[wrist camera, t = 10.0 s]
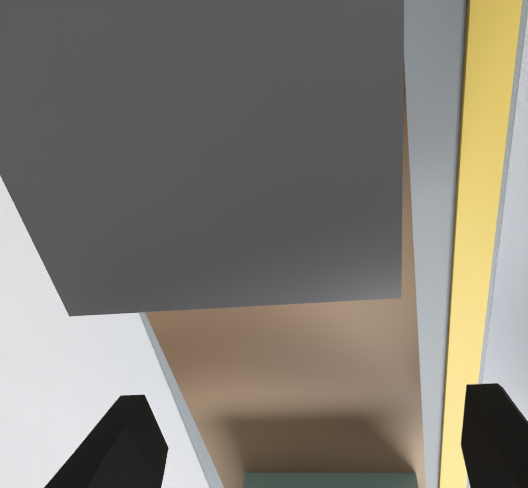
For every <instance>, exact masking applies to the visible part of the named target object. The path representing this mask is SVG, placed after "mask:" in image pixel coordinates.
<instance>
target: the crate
mask: <svg viewBox="0 0 528 488" xmlns="http://www.w3.org/2000/svg"><path fill="white" fill-rule="evenodd" d="M403 79H404V0H0V176H1V178H2V180H3V182H4V184H5V186H6V188H7V190H8V192H9V194H10V196H11V198H12V200H13V202H14V204H15V206H16V208H17V210H18V212H19V214H20V216H21V218H22V221H23V223H24V225H25V227H26V229H27V231H28V233H29V235H30V237H31V239H32V241H33V243H34V245H35V247H36V249H37V251H38V253H39V255H40V257H41V259H42V261H43V263H44V265H45V267H46V270H47V272H48V274H49V276H50V278H51V280H52V282H53V284H54V286H55V288H56V290H57V292H58V294H59V296H60V298H61V300H62V302H63V304H64V306H65V308H66V310H67V312H68V314H69V316H83V315H101V314H120V313H138V312H157V311H175V310H193V309H212V308H230V307H249V306H267V305H285V304H304V303H322V302H341V301H359V300H378V299H396V298H401V284H402V182H403Z"/></svg>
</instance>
